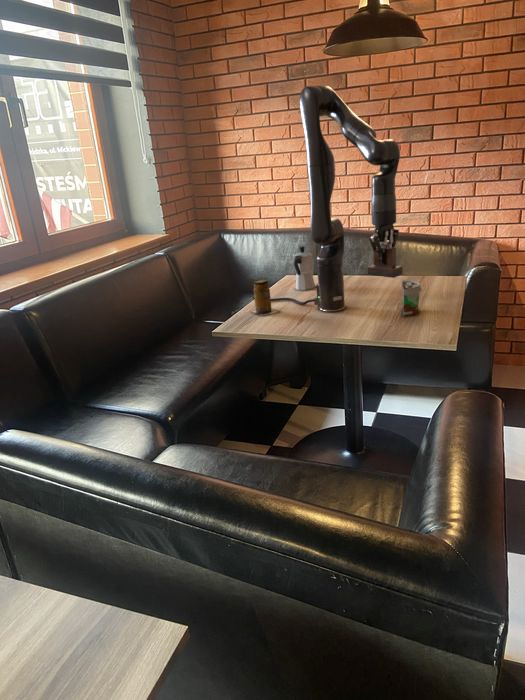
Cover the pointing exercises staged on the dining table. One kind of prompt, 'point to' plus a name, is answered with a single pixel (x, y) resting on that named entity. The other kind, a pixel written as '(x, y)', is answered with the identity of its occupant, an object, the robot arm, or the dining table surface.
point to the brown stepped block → (386, 265)
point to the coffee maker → (303, 270)
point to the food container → (410, 297)
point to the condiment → (262, 298)
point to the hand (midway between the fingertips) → (384, 263)
